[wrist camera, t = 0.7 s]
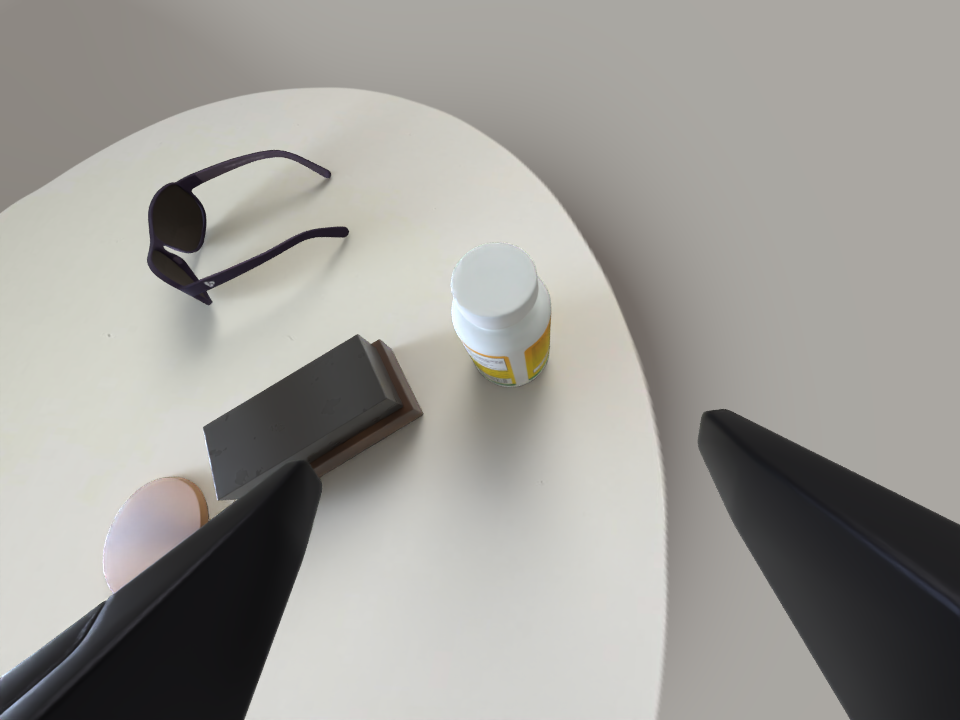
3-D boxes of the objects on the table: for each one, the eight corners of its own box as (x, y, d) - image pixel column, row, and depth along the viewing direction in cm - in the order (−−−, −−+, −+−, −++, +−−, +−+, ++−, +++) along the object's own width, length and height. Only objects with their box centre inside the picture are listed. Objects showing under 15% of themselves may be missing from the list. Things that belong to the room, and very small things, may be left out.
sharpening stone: (391, 348, 26) (361, 323, 22) (424, 414, 24) (397, 400, 20) (250, 433, 26) (194, 424, 22) (270, 507, 24) (211, 513, 20)
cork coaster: (202, 589, 23) (194, 591, 22) (102, 609, 24) (91, 612, 23) (213, 467, 26) (206, 466, 25) (123, 489, 27) (114, 489, 26)
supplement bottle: (486, 398, 23) (448, 348, 15) (467, 331, 25) (423, 252, 17) (561, 374, 23) (570, 308, 14) (536, 308, 25) (529, 214, 16)
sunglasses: (193, 223, 36) (140, 185, 31) (326, 156, 35) (292, 108, 30) (203, 327, 31) (141, 300, 26) (359, 251, 30) (324, 210, 25)
